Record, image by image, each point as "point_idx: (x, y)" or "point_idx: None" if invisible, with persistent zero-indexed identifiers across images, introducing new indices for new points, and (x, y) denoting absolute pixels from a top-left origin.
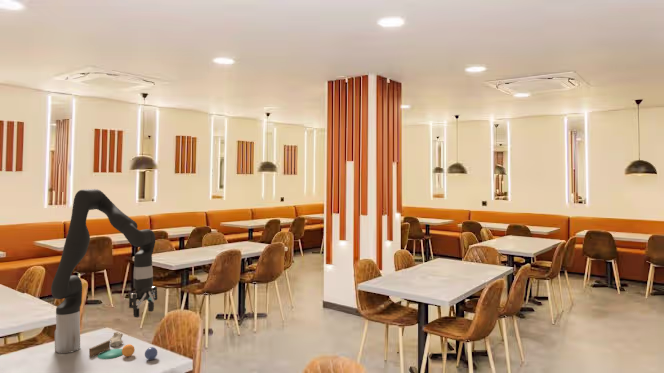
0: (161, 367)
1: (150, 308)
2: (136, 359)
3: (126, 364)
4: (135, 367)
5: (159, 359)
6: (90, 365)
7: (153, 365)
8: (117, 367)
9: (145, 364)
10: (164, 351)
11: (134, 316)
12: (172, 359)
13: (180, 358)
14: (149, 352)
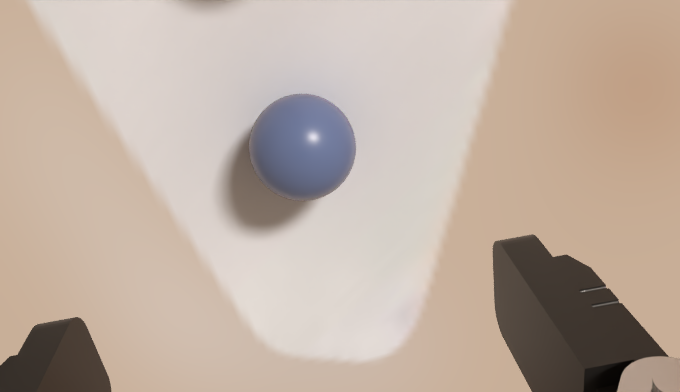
0: (234, 303)
1: (520, 324)
2: (238, 14)
3: (121, 28)
4: (129, 149)
5: None
6: None
7: (228, 234)
8: (35, 10)
9: (209, 170)
10: (472, 92)
11: (41, 335)
12: (368, 265)
13: (404, 296)
14: (264, 182)
